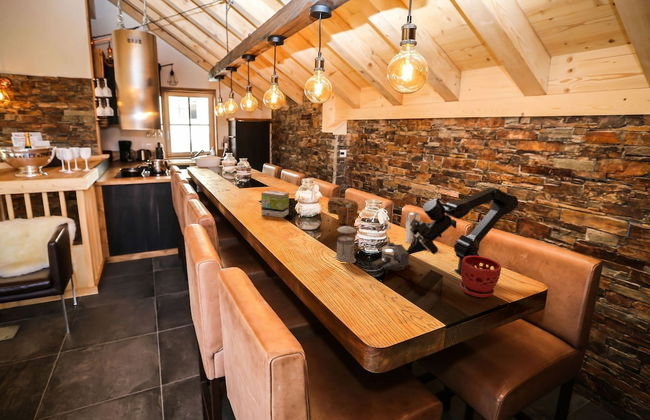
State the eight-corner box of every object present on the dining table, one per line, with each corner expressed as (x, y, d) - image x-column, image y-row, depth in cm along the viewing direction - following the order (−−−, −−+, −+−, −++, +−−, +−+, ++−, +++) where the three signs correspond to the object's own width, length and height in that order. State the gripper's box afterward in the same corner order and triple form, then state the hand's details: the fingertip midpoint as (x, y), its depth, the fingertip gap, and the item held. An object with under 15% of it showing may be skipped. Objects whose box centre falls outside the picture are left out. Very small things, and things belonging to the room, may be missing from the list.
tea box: (260, 215, 226) (260, 192, 223) (267, 211, 236) (267, 189, 232) (282, 217, 222) (283, 194, 219) (288, 214, 232) (289, 191, 228)
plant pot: (451, 291, 131) (455, 260, 128) (467, 281, 140) (471, 252, 137) (487, 304, 122) (493, 272, 119) (502, 293, 131) (507, 262, 128)
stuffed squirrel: (359, 226, 209) (360, 205, 206) (335, 225, 211) (336, 203, 208) (359, 222, 219) (361, 201, 216) (337, 220, 221) (338, 199, 218)
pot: (392, 258, 161) (393, 245, 160) (412, 264, 155) (413, 251, 154) (363, 272, 145) (364, 258, 143) (384, 279, 138) (385, 265, 137)
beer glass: (417, 244, 182) (420, 215, 179) (404, 242, 183) (406, 214, 180) (417, 240, 189) (420, 212, 185) (403, 238, 190) (406, 211, 186)
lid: (378, 245, 158) (379, 234, 157) (401, 246, 159) (402, 234, 157) (390, 266, 136) (391, 252, 134) (417, 266, 136) (418, 253, 135)
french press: (358, 257, 161) (361, 203, 155) (353, 266, 150) (356, 209, 144) (336, 254, 163) (339, 201, 158) (330, 263, 153) (332, 206, 147)
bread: (326, 211, 242) (327, 197, 240) (335, 209, 251) (335, 195, 249) (350, 216, 232) (351, 201, 230) (358, 213, 241) (359, 199, 239)
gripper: (417, 207, 145) (388, 232, 147) (433, 219, 127) (399, 247, 129) (433, 226, 147) (405, 250, 149) (451, 240, 129) (418, 268, 131)
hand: (406, 253), depth 140 cm, fingers closed
